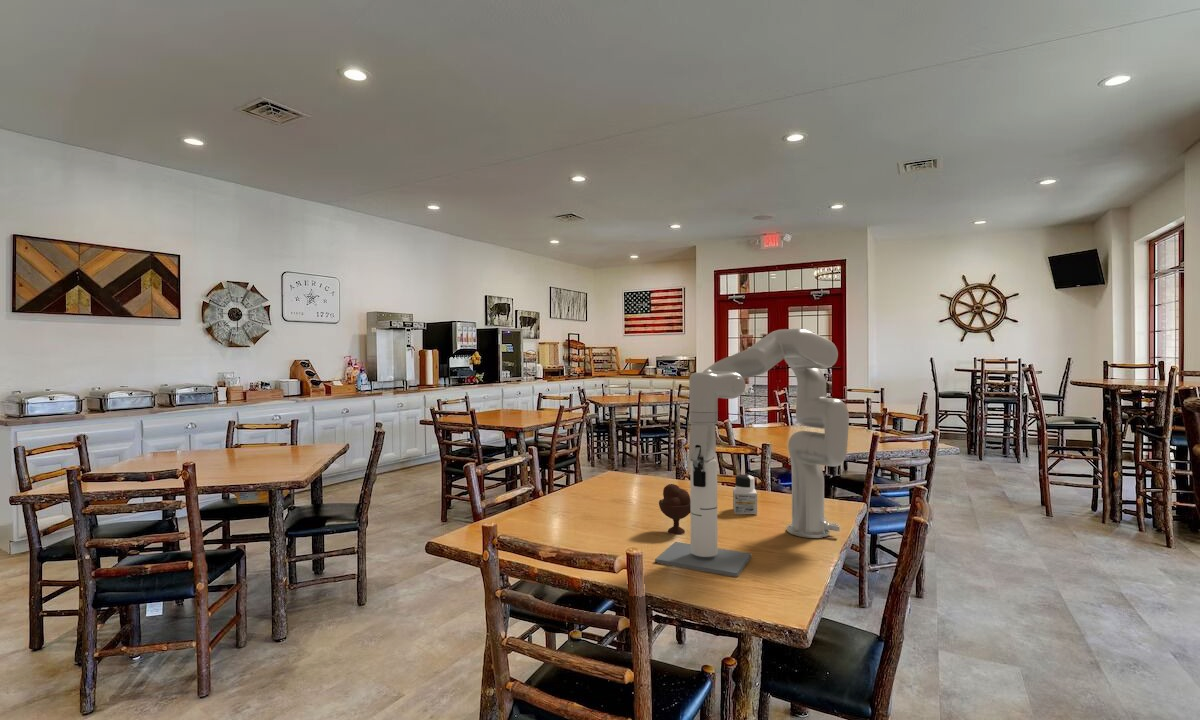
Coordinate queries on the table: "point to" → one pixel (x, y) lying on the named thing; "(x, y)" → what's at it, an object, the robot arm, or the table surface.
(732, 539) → the table surface
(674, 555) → the board
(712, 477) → the cylindrical container
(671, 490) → the ice cream bowl
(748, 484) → the container
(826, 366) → the robot arm
